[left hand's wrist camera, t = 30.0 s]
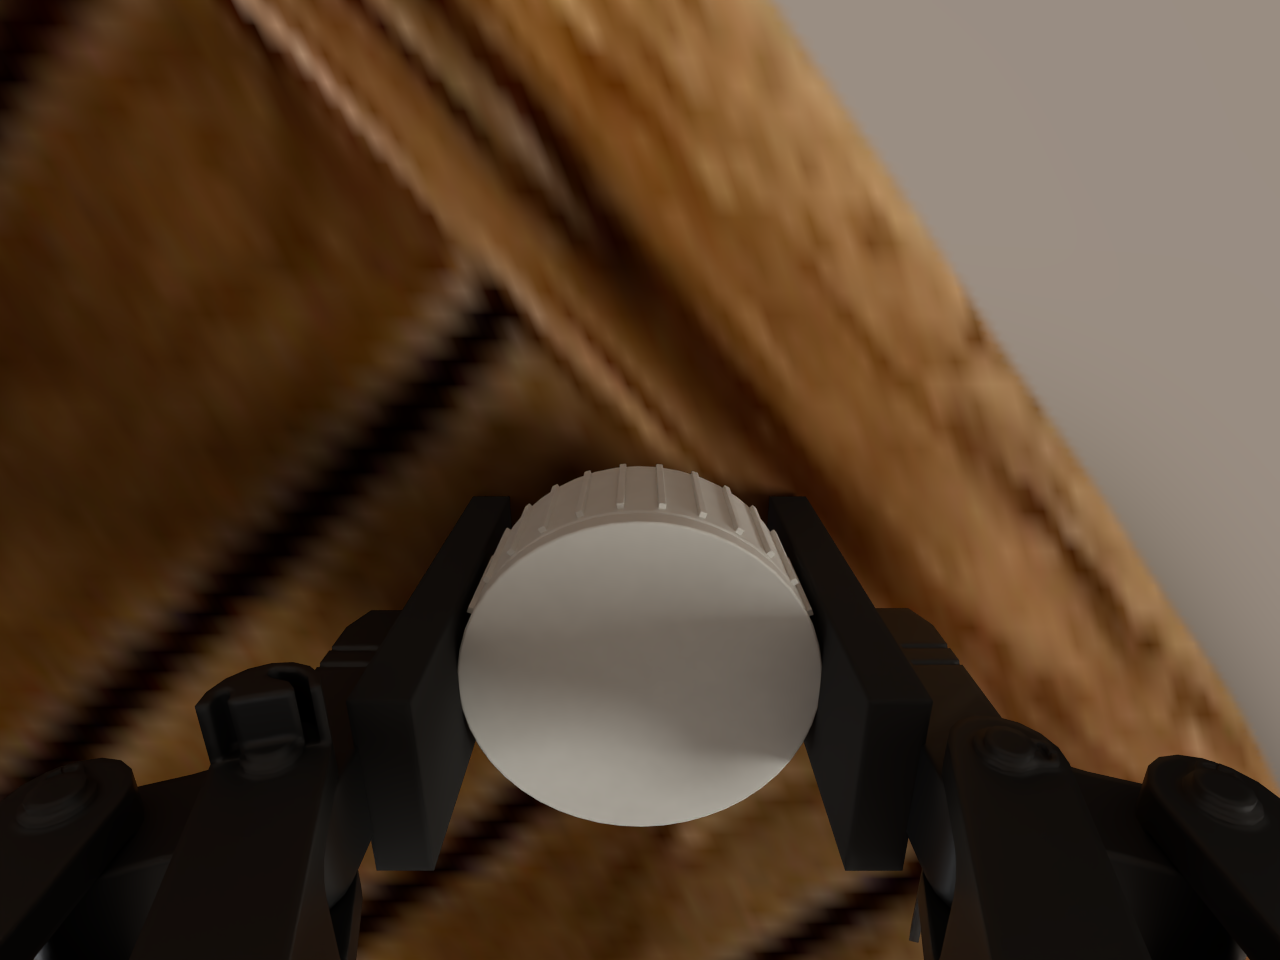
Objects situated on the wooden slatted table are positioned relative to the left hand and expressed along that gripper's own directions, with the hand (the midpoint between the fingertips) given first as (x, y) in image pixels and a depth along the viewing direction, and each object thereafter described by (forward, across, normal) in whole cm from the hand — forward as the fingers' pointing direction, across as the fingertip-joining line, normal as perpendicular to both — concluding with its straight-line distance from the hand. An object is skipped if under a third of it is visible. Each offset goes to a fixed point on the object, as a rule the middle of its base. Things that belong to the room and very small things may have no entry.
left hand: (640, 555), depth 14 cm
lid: (-4, 0, 0) cm, 4 cm away
